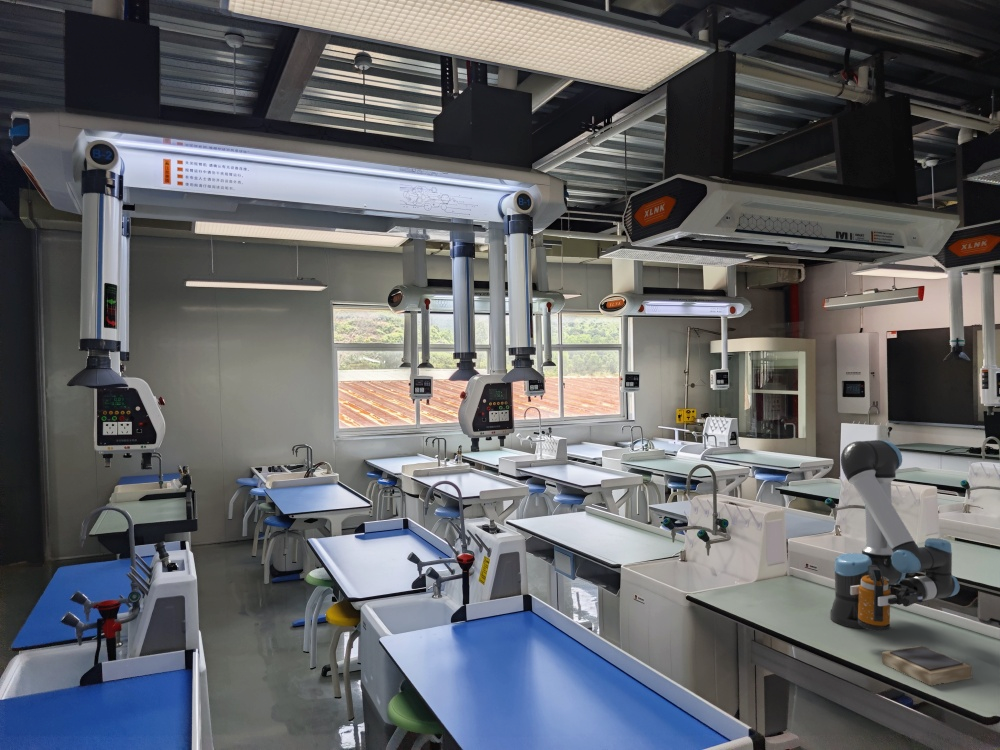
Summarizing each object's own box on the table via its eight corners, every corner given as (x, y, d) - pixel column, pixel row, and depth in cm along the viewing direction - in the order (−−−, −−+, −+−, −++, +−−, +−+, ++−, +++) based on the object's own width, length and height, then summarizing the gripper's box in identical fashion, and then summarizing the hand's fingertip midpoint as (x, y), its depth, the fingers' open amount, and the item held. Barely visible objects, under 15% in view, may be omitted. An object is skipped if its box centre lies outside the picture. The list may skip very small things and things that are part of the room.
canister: (885, 623, 219) (886, 563, 219) (895, 637, 209) (896, 574, 208) (855, 620, 222) (856, 561, 221) (863, 633, 211) (864, 571, 210)
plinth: (882, 663, 203) (882, 650, 203) (921, 656, 208) (921, 643, 208) (930, 686, 188) (930, 671, 188) (971, 678, 193) (971, 664, 193)
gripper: (948, 612, 210) (895, 620, 203) (887, 589, 232) (836, 595, 225) (949, 588, 210) (895, 596, 203) (887, 568, 232) (837, 573, 225)
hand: (864, 596), depth 214 cm, fingers closed on canister, 10 cm apart
